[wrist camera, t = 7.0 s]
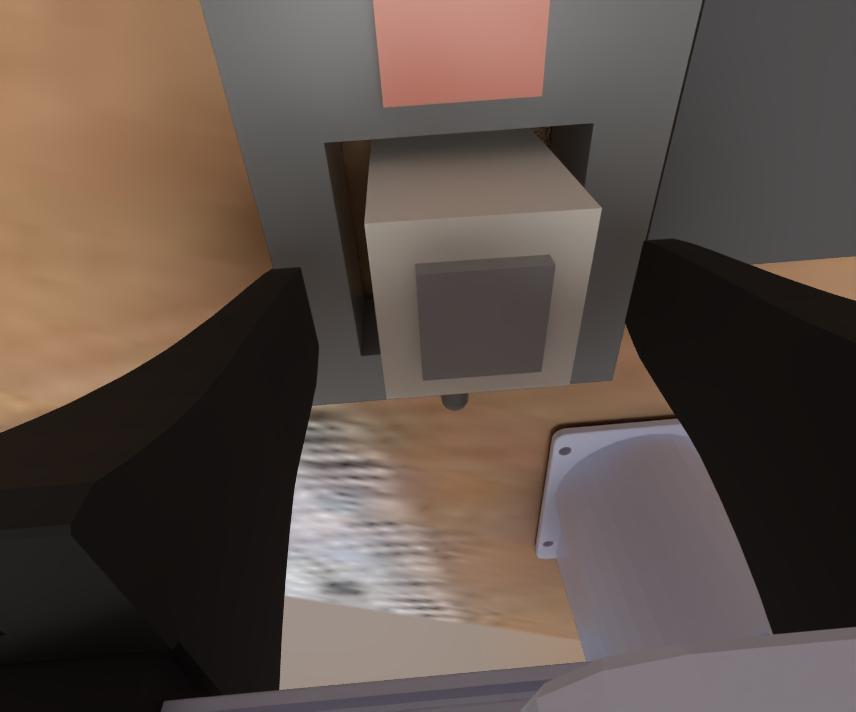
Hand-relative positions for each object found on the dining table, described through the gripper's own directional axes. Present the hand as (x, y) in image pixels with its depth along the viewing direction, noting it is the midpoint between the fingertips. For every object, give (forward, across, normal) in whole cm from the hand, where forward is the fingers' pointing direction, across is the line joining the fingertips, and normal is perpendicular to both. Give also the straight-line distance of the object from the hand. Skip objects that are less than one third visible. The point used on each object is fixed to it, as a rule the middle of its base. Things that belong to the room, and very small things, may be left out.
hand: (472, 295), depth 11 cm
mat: (+5, -10, -2) cm, 11 cm away
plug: (+5, 0, 0) cm, 5 cm away
